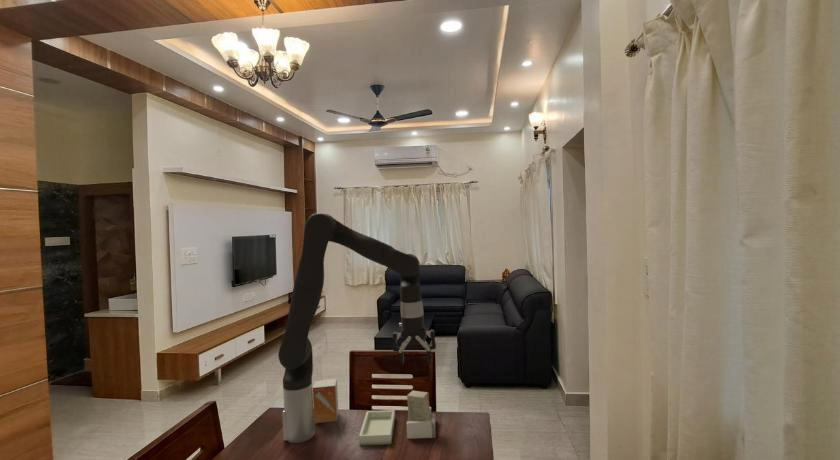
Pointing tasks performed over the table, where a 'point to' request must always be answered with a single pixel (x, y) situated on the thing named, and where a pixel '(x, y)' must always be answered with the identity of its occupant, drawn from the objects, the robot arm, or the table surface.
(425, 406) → the skincare box
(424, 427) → the off-white card holder
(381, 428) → the tray
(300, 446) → the table surface
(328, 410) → the small box
